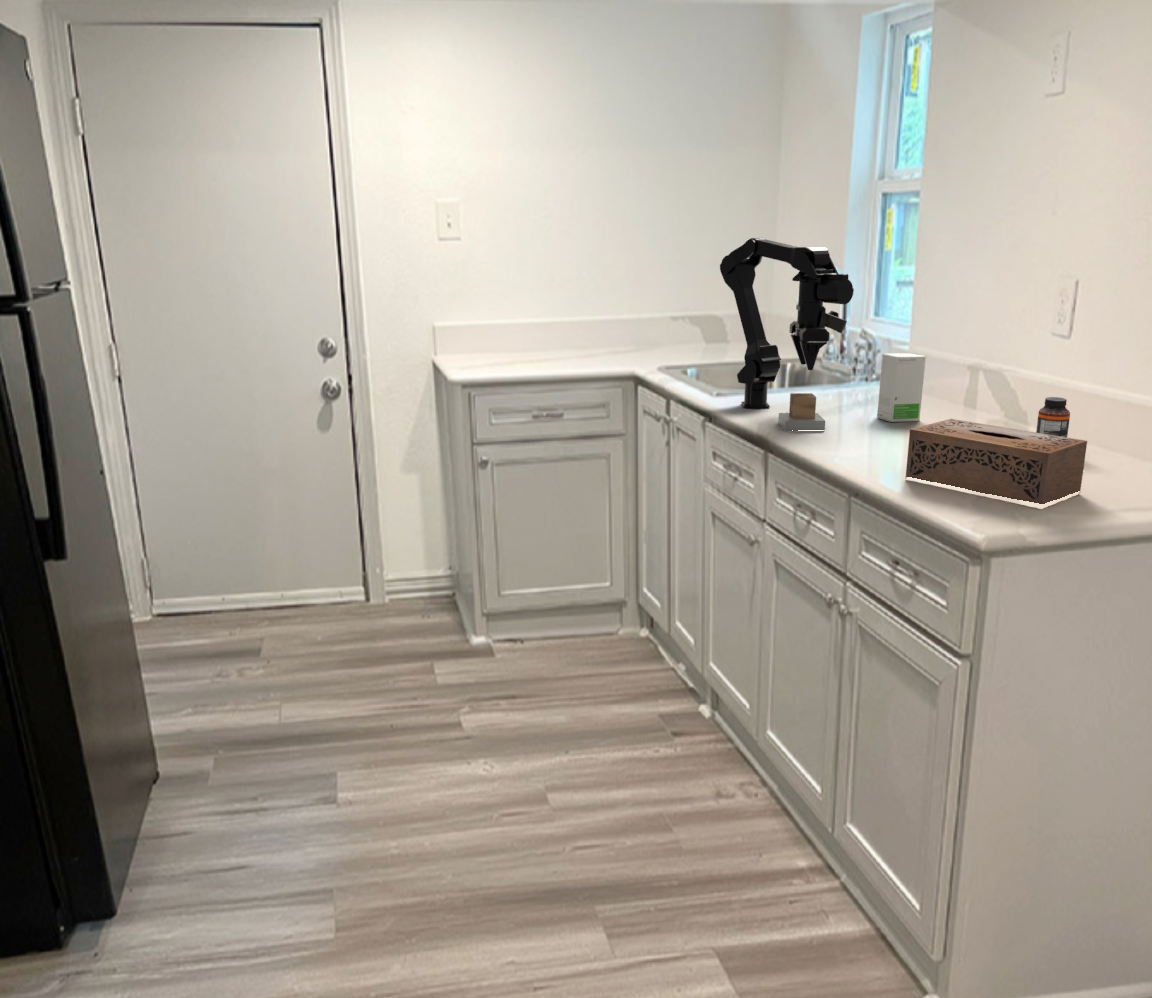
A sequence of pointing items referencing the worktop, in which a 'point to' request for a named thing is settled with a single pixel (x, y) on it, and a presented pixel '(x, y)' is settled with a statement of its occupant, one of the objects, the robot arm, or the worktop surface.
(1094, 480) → the worktop surface
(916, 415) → the skincare box
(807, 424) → the base
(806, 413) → the walnut cube
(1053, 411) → the supplement bottle
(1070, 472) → the tissue box cover
